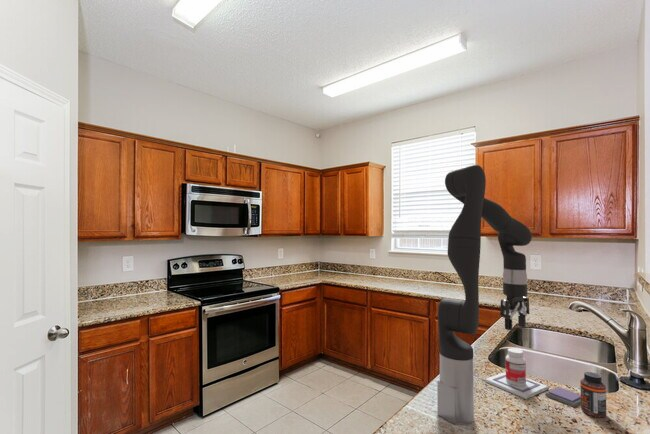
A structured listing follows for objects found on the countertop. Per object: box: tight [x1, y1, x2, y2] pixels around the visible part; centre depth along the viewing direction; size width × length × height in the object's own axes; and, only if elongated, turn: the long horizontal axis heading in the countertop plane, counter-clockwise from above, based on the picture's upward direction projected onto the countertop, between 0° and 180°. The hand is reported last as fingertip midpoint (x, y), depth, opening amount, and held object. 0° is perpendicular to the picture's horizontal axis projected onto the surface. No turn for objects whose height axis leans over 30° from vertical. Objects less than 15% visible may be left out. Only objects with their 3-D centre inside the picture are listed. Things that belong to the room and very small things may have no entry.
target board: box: [484, 371, 549, 400], centre depth 114 cm, size 14×14×1 cm
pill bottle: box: [505, 347, 527, 386], centre depth 114 cm, size 6×6×11 cm
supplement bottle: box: [579, 371, 607, 419], centre depth 97 cm, size 6×6×11 cm
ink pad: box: [545, 386, 581, 408], centre depth 105 cm, size 8×8×2 cm
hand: (515, 328), depth 115 cm, fingers open, 8 cm apart
